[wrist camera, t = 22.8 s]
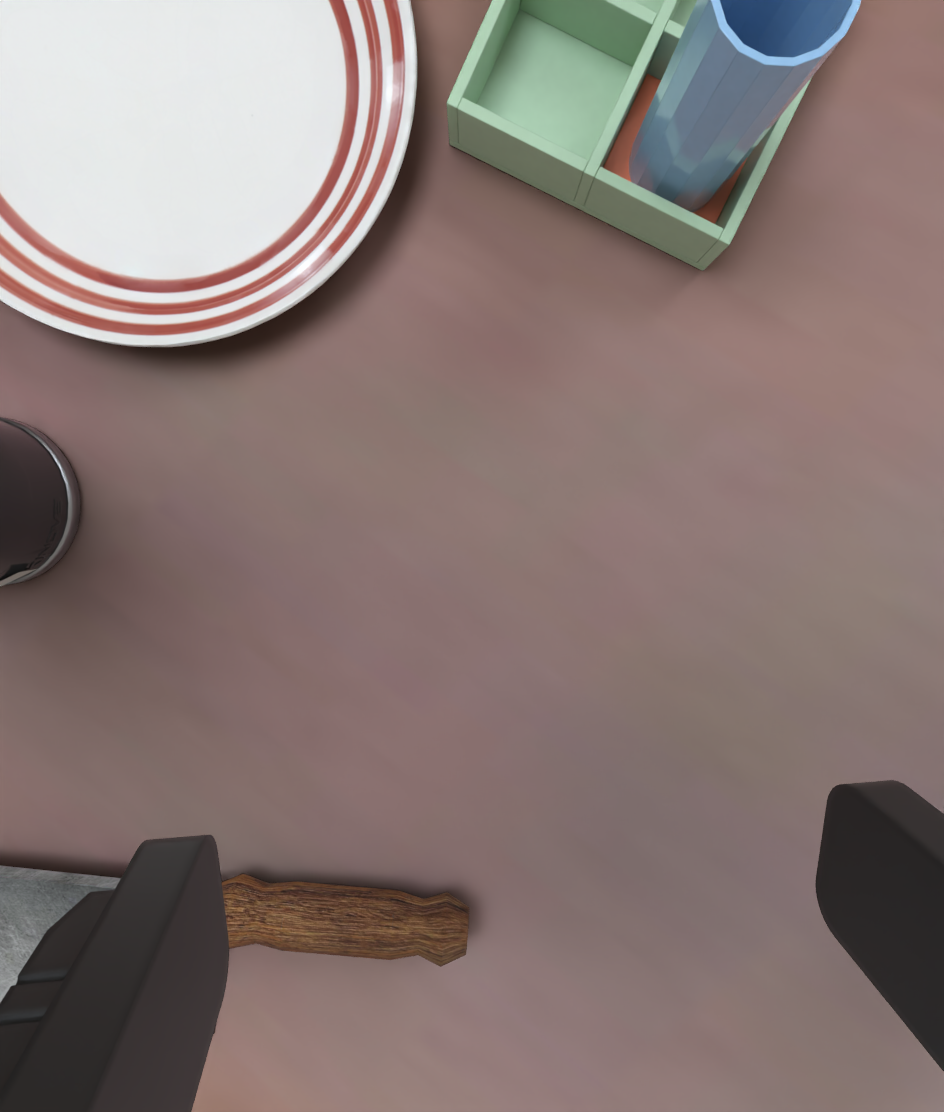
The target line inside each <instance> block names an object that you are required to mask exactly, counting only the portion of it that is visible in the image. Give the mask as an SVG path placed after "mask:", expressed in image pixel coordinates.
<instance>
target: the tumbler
mask: <svg viewBox="0 0 944 1112" xmlns="http://www.w3.org/2000/svg"><path fill="white" fill-rule="evenodd" d="M860 1H861V0H697V2H696V4H695V6H694V8H693V11H692V13H691V15H690V17H689V20H688V22H687V24H686V26H685V28H684V31H683V33H682V35H681V37H680V40H679V42H678V44H677V46H676V49H675V51H674V53H673V55H672V57H671V60H670V62H669V64H668V66H667V69H666V71H665V73H664V75H663V77H662V80H661V82H660V84H659V86H658V89H657V91H656V93H655V95H654V98H653V100H652V102H651V104H650V106H649V109H648V111H647V113H646V115H645V118H644V120H643V122H642V124H641V127H640V129H639V131H638V133H637V135H636V138H635V140H634V142H633V144H632V148H631V151H630V156H629V175H630V179H631V182H632V183H634V184H636V185H638V186H640V187H642V188H644V189H646V190H648V191H650V192H652V193H654V194H656V195H658V196H660V197H662V198H664V199H666V200H668V201H670V202H672V203H674V204H676V205H678V206H680V207H682V208H684V209H686V210H688V211H690V212H695V211H697V210H699V209H701V208H702V207H704V206H705V205H706V204H708V203H709V202H710V201H711V200H712V199H713V198H714V197H715V196H716V194H717V193H718V192H720V191H721V189H722V188H723V187H724V186H725V184H726V183H727V182H728V181H729V179H730V178H731V177H732V176H733V175H734V173H735V172H736V171H737V170H738V168H739V167H740V166H741V165H742V163H743V162H744V161H745V160H746V158H747V157H748V156H749V155H750V153H751V152H752V151H753V150H754V148H755V147H756V146H757V145H758V143H759V142H760V141H761V140H762V138H763V137H764V136H765V135H766V133H767V132H768V131H769V130H770V128H771V127H772V126H773V125H774V123H775V122H776V121H777V120H778V118H779V117H780V116H781V115H782V113H783V112H784V111H785V110H786V108H787V107H788V106H789V105H790V103H791V102H792V101H793V100H794V99H795V97H796V96H797V95H798V94H799V92H800V91H801V90H802V89H803V87H804V86H805V85H806V84H807V82H808V81H809V80H810V79H811V77H812V76H813V75H814V74H815V72H816V71H817V70H818V69H819V67H820V66H821V65H822V64H823V62H824V61H825V60H826V59H827V57H828V56H829V55H830V54H831V52H832V51H833V50H834V49H835V47H836V46H837V45H838V44H839V42H840V41H841V40H842V39H843V37H844V36H845V35H846V33H847V31H848V29H849V27H850V25H851V23H852V21H853V19H854V17H855V15H856V13H857V11H858V9H859V7H860Z"/></svg>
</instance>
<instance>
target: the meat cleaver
mask: <svg viewBox="0 0 944 1112" xmlns="http://www.w3.org/2000/svg"><path fill="white" fill-rule="evenodd" d="M120 879H121V878H114V877H104V876H95V875H85V874H76V873H66V872H56V871H47V870H37V869H28V868H18V867H8V866H0V1002H1V1001H2V999H3V998H4V996H5V995H6V993H7V992H8V990H9V988H10V987H11V986H13V985H16V983H17V979H18V977H17V976H18V975H19V973H20V971H21V970H22V968H23V967H24V965H25V964H26V962H27V961H28V959H29V958H30V956H31V954H32V953H33V951H34V950H35V948H36V947H37V945H38V944H39V942H40V941H41V939H42V937H43V936H44V934H45V933H46V931H47V930H48V929H49V928H50V927H51V926H53V925H54V924H55V923H56V922H57V921H58V920H59V919H60V918H62V917H63V916H64V915H65V914H66V913H67V912H68V911H69V910H70V909H72V908H73V907H74V906H75V905H76V904H77V903H78V902H79V901H81V900H82V899H83V898H84V897H85V896H86V895H87V894H88V893H90V892H94V891H105V890H115V888H116V886H117V884H118V883H119V881H120ZM222 890H223V898H224V906H225V914H226V922H227V930H228V939H229V949H230V948H235V947H240V946H245V945H250V944H255V943H257V944H260V945H264V946H267V947H271V948H275V949H278V950H282V951H294V952H305V953H317V954H328V955H340V956H352V957H363V958H375V959H386V960H392V959H398V958H403V957H409V956H415V955H419V956H421V957H423V958H425V959H427V960H429V961H431V962H433V963H435V964H437V965H438V966H440V967H441V966H443V965H445V964H447V963H449V962H452V961H454V960H456V959H458V958H460V957H462V956H464V955H466V949H467V938H468V923H469V907H468V906H467V905H465V904H464V903H462V902H461V901H459V900H458V899H456V898H455V897H453V896H452V895H450V894H449V893H447V892H446V893H443V894H439V895H436V896H432V897H429V898H425V899H422V898H419V897H416V896H413V895H411V894H408V893H405V892H402V891H399V890H389V889H378V888H366V887H354V886H343V885H331V884H320V883H308V882H297V881H295V882H283V883H271V884H269V883H267V882H264V881H262V880H259V879H257V878H254V877H252V876H249V875H247V874H241V875H239V876H236V877H234V878H231V879H228V880H226V881H223V882H222ZM213 1034H214V1033H213Z"/></svg>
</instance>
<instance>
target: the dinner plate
mask: <svg viewBox="0 0 944 1112" xmlns="http://www.w3.org/2000/svg"><path fill="white" fill-rule="evenodd" d="M416 89H417V44H416V35H415V27H414V19H413V13H412V7H411V2H410V0H0V300H1V301H3V302H4V303H6V304H7V305H9V306H10V307H12V308H14V309H16V310H18V311H20V312H22V313H23V314H25V315H27V316H29V317H31V318H33V319H36V320H38V321H40V322H42V323H44V324H47V325H49V326H51V327H54V328H56V329H59V330H62V331H65V332H68V333H71V334H74V335H78V336H81V337H85V338H88V339H92V340H97V341H101V342H105V343H111V344H117V345H125V346H136V347H176V346H187V345H193V344H199V343H204V342H209V341H214V340H217V339H221V338H225V337H229V336H233V335H235V334H238V333H241V332H243V331H246V330H248V329H251V328H253V327H256V326H258V325H260V324H262V323H264V322H266V321H268V320H271V319H273V318H275V317H277V316H278V315H280V314H282V313H283V312H285V311H287V310H288V309H290V308H292V307H293V306H295V305H296V304H298V303H299V302H300V301H302V300H303V299H305V298H306V297H308V296H309V295H310V294H312V293H313V292H314V291H315V290H316V289H318V288H319V287H320V286H321V285H323V284H324V283H325V282H326V281H327V280H328V279H329V278H330V277H331V276H332V275H333V274H334V273H335V272H336V271H337V270H338V269H339V268H340V267H341V266H342V265H343V264H344V263H345V261H346V260H347V259H348V258H349V257H350V256H351V255H352V253H353V252H354V251H355V250H356V249H357V247H358V246H359V245H360V243H361V242H362V240H363V239H364V238H365V236H366V235H367V233H368V232H369V230H370V229H371V227H372V225H373V224H374V222H375V221H376V219H377V218H378V216H379V214H380V212H381V211H382V209H383V207H384V205H385V203H386V201H387V199H388V197H389V195H390V193H391V191H392V188H393V186H394V184H395V181H396V179H397V176H398V173H399V171H400V168H401V165H402V162H403V159H404V155H405V152H406V148H407V145H408V141H409V137H410V132H411V127H412V122H413V116H414V109H415V99H416Z"/></svg>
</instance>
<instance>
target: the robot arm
mask: <svg viewBox="0 0 944 1112" xmlns="http://www.w3.org/2000/svg"><path fill="white" fill-rule="evenodd" d="M79 518H80V494H79V488H78V484H77V481H76V478H75V475H74V473H73V470H72V468H71V466H70V464H69V463H68V461H67V459H66V458H65V456H64V455H63V453H62V452H61V451H60V450H59V448H58V447H57V446H56V445H55V444H54V443H53V442H52V441H51V440H50V439H49V438H47V437H46V436H45V435H44V434H42V433H41V432H39V431H38V430H36V429H34V428H33V427H31V426H29V425H26V424H24V423H22V422H19V421H16V420H12V419H7V418H2V417H0V587H1V586H3V585H8V584H14V583H19V582H23V581H27V580H30V579H32V578H35V577H37V576H39V575H41V574H43V573H44V572H46V571H47V570H49V569H50V568H51V567H52V566H54V565H55V564H56V563H57V562H58V561H59V560H60V559H61V558H62V557H63V555H64V554H65V553H66V551H67V550H68V548H69V547H70V545H71V543H72V541H73V539H74V537H75V534H76V531H77V527H78V524H79ZM816 894H817V900H818V904H819V907H820V910H821V913H822V915H823V918H824V920H825V922H826V924H827V926H828V928H829V929H830V931H831V932H832V934H833V935H834V936H835V938H836V939H837V940H838V942H839V943H840V944H841V945H842V946H843V948H844V949H845V950H846V951H847V953H848V954H849V955H850V956H851V958H852V959H853V960H854V961H855V963H856V964H857V965H858V966H859V967H860V969H861V970H862V971H863V972H864V974H865V975H866V976H867V977H868V979H869V980H870V981H871V982H872V984H873V985H874V986H875V987H876V988H877V990H878V991H879V992H880V993H881V995H882V996H883V997H884V998H885V1000H886V1001H887V1002H888V1003H889V1005H890V1006H891V1007H892V1008H893V1010H894V1011H895V1012H896V1013H897V1014H898V1016H899V1017H900V1018H901V1019H902V1021H903V1022H904V1023H905V1024H906V1026H907V1027H908V1028H909V1029H910V1031H911V1032H912V1033H913V1034H914V1035H915V1037H916V1038H917V1039H918V1040H919V1042H920V1043H921V1044H922V1045H923V1047H924V1048H925V1049H926V1050H927V1052H928V1053H929V1054H930V1055H931V1057H932V1058H933V1059H934V1060H935V1061H936V1063H937V1064H938V1065H939V1066H940V1068H941V1069H942V1070H943V1071H944V814H943V813H941V812H940V811H939V810H938V809H936V808H935V807H934V806H932V805H931V804H930V803H928V802H927V801H926V800H925V799H923V798H922V797H921V796H919V795H918V794H917V793H915V792H914V791H913V790H912V789H910V788H909V787H907V786H906V785H904V784H903V783H900V782H898V781H894V780H889V781H877V782H865V783H853V784H840V785H837V786H835V787H834V788H833V789H832V790H831V792H830V794H829V796H828V800H827V805H826V812H825V819H824V826H823V833H822V840H821V847H820V854H819V861H818V868H817V875H816ZM228 961H229V939H228V930H227V922H226V914H225V906H224V898H223V890H222V882H221V874H220V866H219V858H218V851H217V845H216V842H215V839H214V838H213V836H212V835H201V836H189V837H177V838H165V839H153V840H146V841H144V842H143V843H142V844H141V845H140V846H139V848H138V849H137V851H136V852H135V854H134V856H133V858H132V860H131V861H130V863H129V865H128V867H127V868H126V870H125V872H124V874H123V876H122V877H121V879H120V881H119V883H118V884H117V886H116V888H115V890H105V891H94V892H90V893H88V894H87V895H86V896H85V897H84V898H83V899H82V900H81V901H79V902H78V903H77V904H76V905H75V906H74V907H73V908H72V909H70V910H69V911H68V912H67V913H66V914H65V915H64V916H63V917H62V918H60V919H59V920H58V921H57V922H56V923H55V924H54V925H53V926H51V927H50V928H49V929H48V930H47V931H46V933H45V934H44V936H43V937H42V939H41V941H40V942H39V944H38V945H37V947H36V948H35V950H34V951H33V953H32V954H31V956H30V958H29V959H28V961H27V962H26V964H25V965H24V967H23V968H22V970H21V971H20V973H19V975H18V976H17V977H18V979H17V983H16V985H13V986H11V987H10V988H9V990H8V992H7V993H6V995H5V996H4V998H3V999H2V1001H1V1002H0V1112H191V1110H192V1107H193V1103H194V1100H195V1096H196V1093H197V1089H198V1086H199V1082H200V1079H201V1075H202V1071H203V1068H204V1064H205V1061H206V1057H207V1054H208V1050H209V1047H210V1043H211V1040H212V1036H213V1033H214V1029H215V1026H216V1022H217V1018H218V1015H219V1011H220V1008H221V1004H222V1001H223V997H224V992H225V987H226V981H227V973H228Z"/></svg>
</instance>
